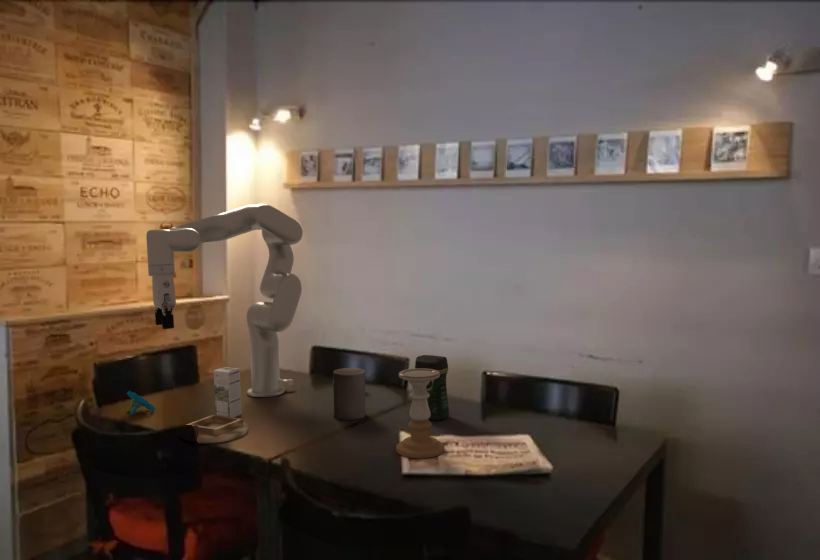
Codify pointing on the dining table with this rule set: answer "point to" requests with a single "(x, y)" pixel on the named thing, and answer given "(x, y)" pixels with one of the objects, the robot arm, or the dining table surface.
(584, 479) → the dining table surface
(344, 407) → the pillar candle
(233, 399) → the syrup box
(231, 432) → the flange base
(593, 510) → the dining table surface
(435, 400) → the coffee jar
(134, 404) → the blue t-shaped piece
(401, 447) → the candle holder
